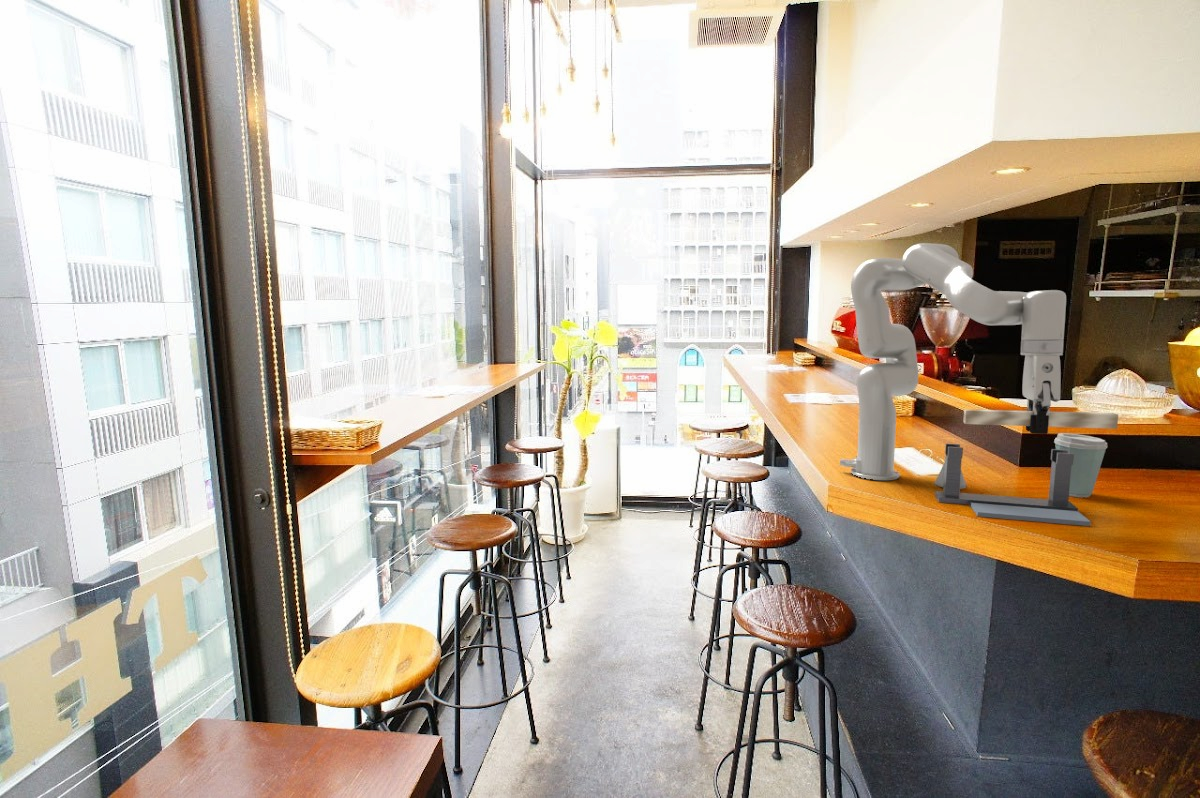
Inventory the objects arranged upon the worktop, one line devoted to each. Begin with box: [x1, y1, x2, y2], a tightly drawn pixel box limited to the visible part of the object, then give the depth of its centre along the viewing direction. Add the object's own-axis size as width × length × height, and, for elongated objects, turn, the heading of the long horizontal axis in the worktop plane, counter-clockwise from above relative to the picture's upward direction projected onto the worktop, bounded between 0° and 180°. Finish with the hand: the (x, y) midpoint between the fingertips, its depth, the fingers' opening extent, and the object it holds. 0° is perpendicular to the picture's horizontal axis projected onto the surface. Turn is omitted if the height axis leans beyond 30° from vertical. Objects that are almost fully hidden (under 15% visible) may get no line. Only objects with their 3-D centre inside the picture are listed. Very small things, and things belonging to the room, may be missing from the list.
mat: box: [970, 503, 1092, 527], centre depth 142 cm, size 21×8×1 cm, turn 70°
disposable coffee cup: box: [1053, 432, 1108, 498], centre depth 158 cm, size 11×11×15 cm
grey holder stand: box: [934, 443, 1079, 512], centre depth 150 cm, size 28×6×14 cm, turn 70°
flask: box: [933, 461, 968, 490], centre depth 167 cm, size 7×7×10 cm
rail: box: [963, 408, 1119, 430], centre depth 139 cm, size 28×2×3 cm, turn 70°
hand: (1036, 431), depth 139 cm, fingers closed on rail, 2 cm apart
